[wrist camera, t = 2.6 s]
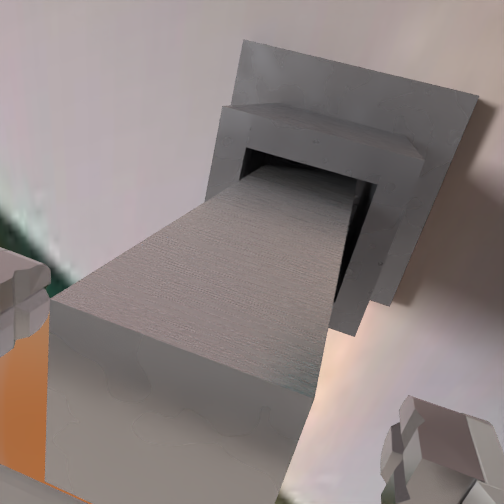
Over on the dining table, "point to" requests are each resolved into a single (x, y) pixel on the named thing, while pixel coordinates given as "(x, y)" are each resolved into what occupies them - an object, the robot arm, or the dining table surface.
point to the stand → (346, 154)
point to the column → (199, 347)
